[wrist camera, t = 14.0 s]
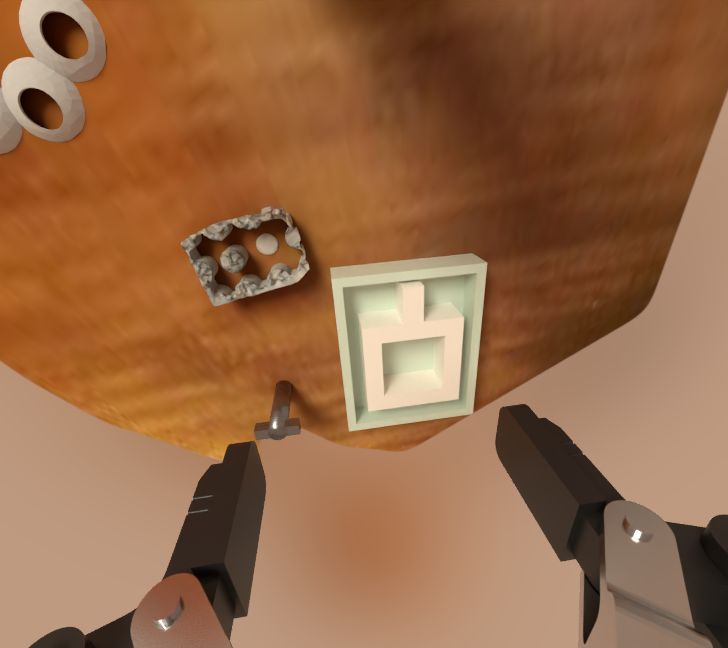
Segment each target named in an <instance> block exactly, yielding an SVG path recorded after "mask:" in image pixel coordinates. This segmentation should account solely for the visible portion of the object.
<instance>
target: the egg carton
mask: <svg viewBox="0 0 728 648" xmlns="http://www.w3.org/2000/svg"><path fill="white" fill-rule="evenodd" d="M272 219H283V220H284V221H285V222H286V223H287V225H288V228H287V230H286V234H285V240H286V242H287V244H288V245H289V246H290V247H292V248H295V249H300V250H302V251H303V253H304V255H302V257H301V258H300V261H299V266H298V268H297V269H294V270H291V269H290V267H289V266H287V265H286V264H282V263H278V264H276V265H274V266H273V267H272V268H271V270H270V273H269V275H268V277H267V279H266V280H263V281H262V280H261V279H260V278H259V277H258V276H256V275H254V274H248V275H245V276H244V277H243V278H242V279H241V281H240V283H238V284H237V286H236V287H235V291H232V289H231V288H230V287H228V286H226V285H218V284H217V283H216V281H215V279H214V277H215V275H216V273H217V272H218V268H219V267H218V263H217V261H216V260H215V259H214V258H212V257H210V256H201V255H200V254H199V252H198V251H197V249H196V247H197V246H198V245H199V244H200V242H201V240H202V236H201V234H203V236H207V237H208V238H210V239H211V240H220V241H222V240H224V239H225V238H226V237H227V236H228V235H229V234H230V232H231V231H232V228H233V224H234V225H235V226H236V227H238V228H240V229H241V228H245V229H248V230H251V229H252V228H255V229H257V228H258V227H259V226H260V224H261V222H263V221H268V220H272ZM292 223H293V221H292V218H291V215H290V213H285V211H284V209H283V208H282V207H281V209H276V208H275V207H272V206H271V207H267V208H263V209H262V211H261V213H260V214H256V215H251V216H249V215H245V216H242V217H239V218H236V219H230V220H225V221H221V222H218V223H215V224H213V225H211V226H209V227H207V228H205V229H203V230H201V231H199V232H198V233H196V234H193V235H191V236H189V238H187V239H186V240H184V241H182V242H181V245H182V247H183V248H184V249H185V250H186V252H187V254H188V256H189V258H190V263H191V265H192V266H193V267H194V269H195V271H196V273H197V276H198V277H199V279H200V281H201V284H202V286H203V287H204V288H205V290H206V291H207V293H208V296H209V298H210V300H211V302H212V303H213V305H214V306H218V305H222V304H225V303H229V302H232V301H235V300H237V299H240V298H245V297H247V296H255V295H258V294H260V293H263V292H267V291H270V290H273V289H276V288H280V287H284V286H287V285H291V284H294V283H296V282H298V281H299V280H300V279H301V278H302V277H303V276H304V275H305V273H306V272H307V271H308V270H309V264H308V263H307V261H306V260H305V258H306V257H305V256H306V252H305V249H304V246H303V245H302V244H300V240H301V239H300V235H299V232H298V229H297V227H295V228H294V227H293V226H292ZM256 246H257V249H258V250H259V251H260V252H261V253H262V254H265V255H272V254H274V253H275V252H276V251H277V249H278V246H279V243H278V240H277V239H276V237H274V236H273V235H272V234H269V233H264V234H262V235H260V236H258V238H257V240H256ZM248 257H249V256H248V252H247V250H246V249H245V248H244V247H243V246H240V245H235V244H234V245H231V246H229V247H228V248H227V249H226V250H225V251H224V252H223V253H222V255H221V258H220V260H221V264H222V267H223V268H224V269H225V270H227V271H229V272H231V273H238V272H239V271H240V270H241V269H242V268H243V267H244V266H245V264H246V263H247V261H248Z"/></svg>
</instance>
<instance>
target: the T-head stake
mask: <svg viewBox="0 0 728 648" xmlns="http://www.w3.org/2000/svg"><path fill="white" fill-rule="evenodd" d="M291 392H292V385H291V383H290V382H288V381H280V382H278V383H277V384H276V388H275V394H274V399H273V405H272V411H271V416H270V422H263V423H256V425H255V430H254V433H255V437H256V440H261V439H268V438H272V439H274V440H281V439H283V438H285V437H286V436H289V435H296V434H300V429H301V425H300V420H299V418H293V419H289V411H290V401H291Z"/></svg>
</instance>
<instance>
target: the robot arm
mask: <svg viewBox="0 0 728 648" xmlns="http://www.w3.org/2000/svg"><path fill="white" fill-rule="evenodd" d="M496 450H497V454H498V457H499V459H500V461H501V463H502V464H503V466H504V467H505V469H506V471H507V473H508V474H509V476H510V477H511V479H512V481H513V483H514V484H515V486H516V487H517V489H518V491H519V493H520V494H521V496H522V498H523V499H524V501H525V503H526V504H527V506H528V508H529V509H530V511H531V513H532V514H533V516H534V518H535V519H536V521H537V522H538V524H539V526H540V528H541V529H542V531H543V533H544V534H545V536H546V538H547V539H548V541H549V543H550V544H551V546H552V548H553V549H554V551H555V553H556V554H557V556H558V558H559V559H560V561H567V560H572V559H576V560H577V561H578V563H579V565H580V566H581V568H582V571H581V574H580V605H579V642H578V648H728V515H718V516H715V517H713V518H712V519H711V520H710V522H709V524H708V525H707V527H706V528H703V527H697V526H691V525H684V524H677V523H671V522H666V521H664V520H663V519H662V518H661V517H659V516H658V515H657V514H656V513H654V512H653V511H651V510H650V509H648V508H646V507H644V506H642V505H640V504H637V503H634V502H631V501H626V500H625V499H624V498H623V497H622V496H621V495H620V494H619V493H618V492H617V490H616V489H615V488H614V487H613V486H612V485H611V484H610V483H609V481H608V480H607V479H606V478H605V477H604V476H603V475H602V474H601V473H600V471H599V470H598V469H597V468H596V467H595V466H594V465H593V464H592V462H591V461H590V460H589V459H588V458H587V457H586V456H585V455H583V454H582V451H581V450H580V449H579V448H578V447H577V446H576V445H575V444H573V442H572V440H571V439H570V438H569V437H568V436H567V435H566V433H565V432H564V431H563V430H562V429H561V428H560V427H558V426H557V425H555V424H554V423H552V422H551V421H549V420H548V419H546V418H538V417H537V416H536V415H535V413H534V412H533V411H532V410H531V409H530V408H529V406H527V405H525V404H520V405H513V406H506V407H502V408H501V409H500V412H499V419H498V426H497V433H496ZM265 494H266V480H265V474H264V470H263V467H262V463H261V460H260V456H259V453H258V449H257V446H256V443H255V442H254V441H250V442H243V443H236V444H230V445H228V447H227V450H226V453H225V456H224V459H223V463H220V464H214V465H211V466H210V467H209V469H208V470H207V471H206V472H205V474H204V475H203V476H202V477H201V479H200V480H199V482H198V485H197V488H196V491H195V493H194V496H193V501H192V502H191V505H190V507H189V510H188V515H187V516H186V518H185V521H184V524H183V527H182V529H181V532H180V535H179V538H178V540H177V543H176V546H175V549H174V552H173V554H172V557H171V560H170V563H169V565H168V568H167V571H166V573H165V575H164V577H163V579H162V581H161V582H159V583H158V584H156V585H155V586H154V587H153V588H152V589H151V590H150V591H149V592H148V593H147V594H146V595H145V597H144V598H143V599H142V601H141V602H140V604H139V605H138V607H137V608H136V609H134V610H133V611H132V612H130V613H128V614H127V615H125V616H123V617H121V618H119V619H117V620H115V621H113V622H111V623H109V624H107V625H105V626H103V627H101V628H99V629H97V630H95V631H93V632H91V633H89V634H87V635H84V634H83V633H82V632H81V631H80V630H79V629H77V628H74V627H65V628H61V629H58V630H55V631H53V632H51V633H49V634H47V635H45V636H44V637H42V638H40V639H39V640H38V641H37V642H35V643H34V644H32V645H31V646H30V647H29V648H233V647H232V645H231V643H230V636H231V630H232V625H233V619H234V618H239V617H245V616H247V614H248V607H249V600H250V593H251V587H252V581H253V574H254V567H255V560H256V554H257V548H258V541H259V534H260V528H261V521H262V515H263V508H264V501H265Z"/></svg>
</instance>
